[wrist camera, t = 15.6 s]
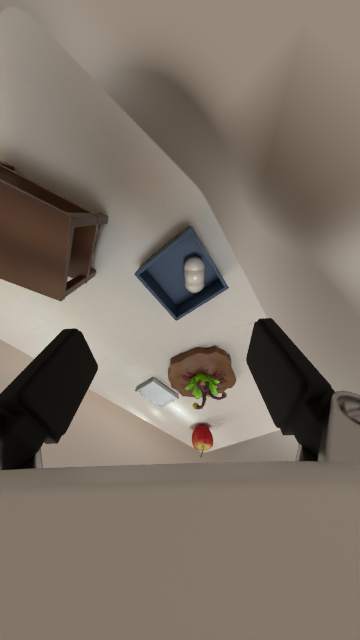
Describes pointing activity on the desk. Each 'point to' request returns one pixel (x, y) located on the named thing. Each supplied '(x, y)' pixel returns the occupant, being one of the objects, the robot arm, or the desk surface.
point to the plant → (202, 374)
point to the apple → (202, 438)
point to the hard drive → (157, 392)
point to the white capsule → (194, 274)
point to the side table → (44, 237)
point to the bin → (180, 275)
